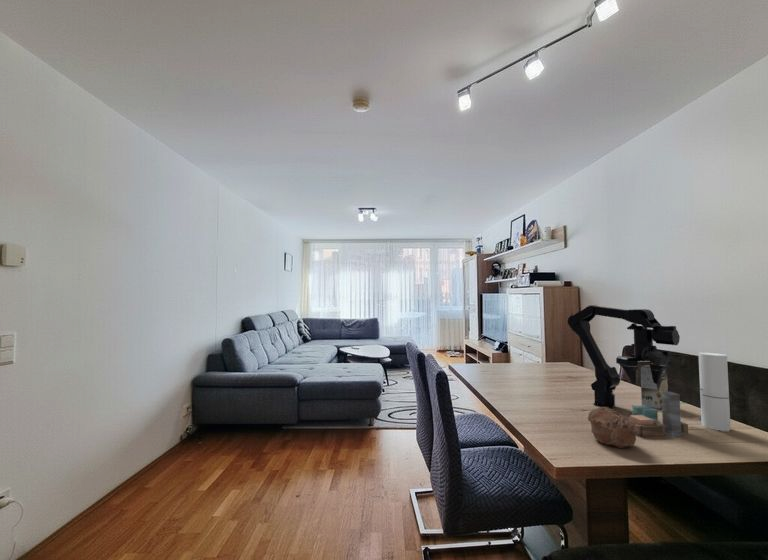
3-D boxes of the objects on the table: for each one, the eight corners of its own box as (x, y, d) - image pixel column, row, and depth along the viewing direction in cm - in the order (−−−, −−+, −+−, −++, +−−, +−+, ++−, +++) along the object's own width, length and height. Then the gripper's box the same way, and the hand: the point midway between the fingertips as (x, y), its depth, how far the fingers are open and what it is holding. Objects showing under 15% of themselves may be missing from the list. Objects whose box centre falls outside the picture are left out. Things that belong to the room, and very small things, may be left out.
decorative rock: (581, 434, 109) (580, 403, 110) (614, 433, 110) (613, 402, 111) (611, 453, 96) (610, 417, 97) (648, 452, 97) (647, 416, 98)
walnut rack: (619, 427, 115) (619, 418, 116) (668, 425, 118) (667, 416, 118) (638, 436, 108) (638, 427, 108) (690, 434, 110) (690, 425, 110)
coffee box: (659, 409, 135) (658, 368, 136) (641, 405, 140) (639, 366, 141) (668, 405, 140) (667, 366, 141) (650, 401, 145) (648, 364, 146)
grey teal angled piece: (632, 419, 123) (631, 383, 124) (645, 419, 124) (644, 383, 124) (670, 435, 109) (669, 394, 109) (684, 435, 109) (683, 394, 110)
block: (629, 428, 115) (629, 415, 115) (642, 428, 115) (641, 415, 115) (641, 434, 110) (640, 420, 110) (653, 433, 111) (653, 419, 111)
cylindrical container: (722, 425, 118) (719, 353, 120) (735, 432, 112) (732, 356, 113) (697, 422, 121) (694, 351, 122) (708, 429, 114) (705, 354, 116)
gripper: (639, 345, 120) (640, 390, 119) (686, 344, 122) (688, 388, 121) (614, 341, 131) (615, 382, 130) (657, 341, 133) (659, 381, 132)
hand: (644, 383), depth 128 cm, fingers open, 9 cm apart
